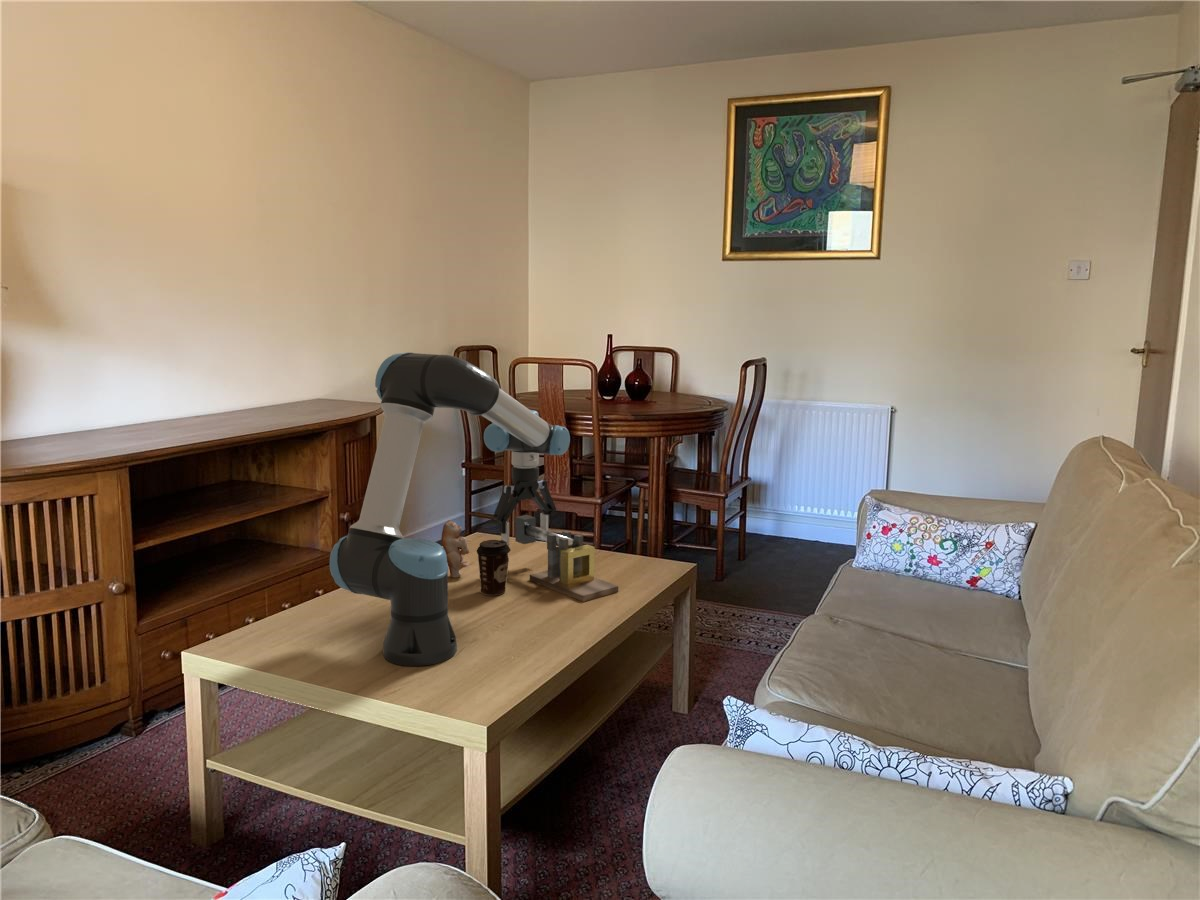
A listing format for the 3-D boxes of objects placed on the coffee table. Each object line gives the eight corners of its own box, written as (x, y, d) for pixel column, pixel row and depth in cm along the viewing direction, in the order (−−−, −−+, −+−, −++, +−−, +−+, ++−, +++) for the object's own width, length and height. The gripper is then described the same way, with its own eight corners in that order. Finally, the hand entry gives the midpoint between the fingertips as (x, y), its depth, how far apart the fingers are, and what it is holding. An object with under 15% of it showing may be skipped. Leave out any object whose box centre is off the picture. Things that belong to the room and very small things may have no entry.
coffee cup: (513, 587, 219) (513, 539, 217) (507, 598, 211) (507, 548, 209) (481, 586, 220) (480, 538, 218) (473, 596, 212) (472, 546, 210)
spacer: (567, 586, 216) (568, 552, 215) (560, 583, 218) (560, 550, 217) (594, 579, 222) (594, 546, 221) (586, 577, 224) (587, 544, 223)
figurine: (467, 579, 226) (467, 524, 224) (439, 578, 226) (438, 524, 224) (471, 572, 232) (471, 519, 230) (444, 571, 232) (443, 518, 230)
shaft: (565, 558, 220) (565, 532, 219) (515, 541, 236) (515, 516, 235) (577, 556, 223) (577, 530, 221) (526, 538, 239) (526, 514, 238)
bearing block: (583, 601, 210) (583, 551, 208) (529, 580, 226) (529, 533, 224) (618, 591, 218) (619, 542, 216) (564, 571, 234) (564, 526, 232)
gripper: (495, 473, 221) (496, 551, 225) (568, 463, 238) (567, 535, 241) (479, 468, 227) (480, 545, 230) (552, 459, 243) (551, 530, 247)
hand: (525, 540), depth 236 cm, fingers open, 13 cm apart
